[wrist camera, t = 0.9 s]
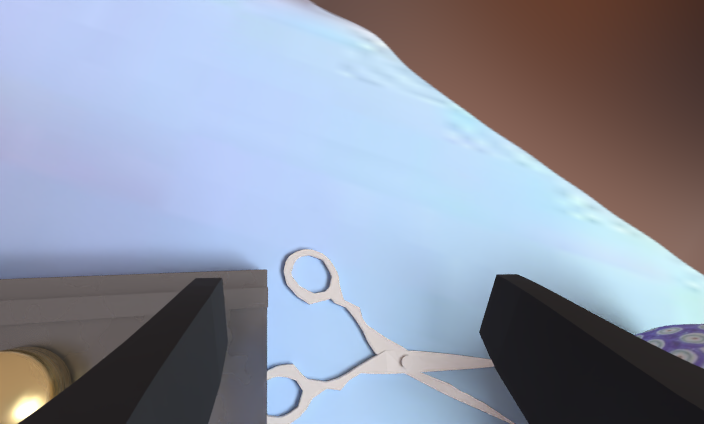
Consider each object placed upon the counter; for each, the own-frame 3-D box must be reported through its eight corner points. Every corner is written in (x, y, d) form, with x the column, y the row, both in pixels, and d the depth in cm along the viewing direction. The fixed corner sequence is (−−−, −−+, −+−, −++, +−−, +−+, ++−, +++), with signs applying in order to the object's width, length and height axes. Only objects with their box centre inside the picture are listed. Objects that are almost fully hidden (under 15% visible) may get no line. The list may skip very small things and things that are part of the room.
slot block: (265, 459, 18) (267, 488, 15) (-80, 527, 14) (-162, 583, 11) (265, 272, 20) (267, 267, 18) (-29, 284, 16) (-86, 280, 14)
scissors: (269, 236, 21) (533, 317, 25) (268, 238, 22) (525, 317, 25) (203, 426, 17) (520, 486, 21) (205, 421, 18) (512, 480, 22)
